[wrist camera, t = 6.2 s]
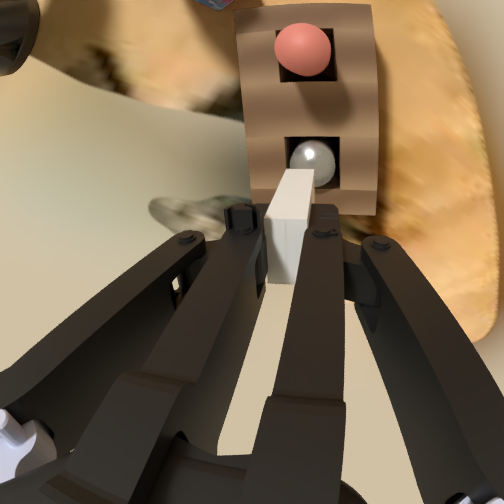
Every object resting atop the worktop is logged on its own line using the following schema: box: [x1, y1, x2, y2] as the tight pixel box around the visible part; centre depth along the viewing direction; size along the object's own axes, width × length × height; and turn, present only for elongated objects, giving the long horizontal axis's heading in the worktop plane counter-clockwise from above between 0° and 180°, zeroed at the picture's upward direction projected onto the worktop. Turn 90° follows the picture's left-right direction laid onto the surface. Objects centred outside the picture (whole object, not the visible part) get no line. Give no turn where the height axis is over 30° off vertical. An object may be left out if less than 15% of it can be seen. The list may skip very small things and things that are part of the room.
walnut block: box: [233, 3, 379, 215], centre depth 28 cm, size 20×12×6 cm, turn 5°
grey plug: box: [290, 136, 335, 187], centre depth 29 cm, size 4×4×6 cm
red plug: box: [274, 23, 331, 76], centre depth 21 cm, size 4×4×6 cm
